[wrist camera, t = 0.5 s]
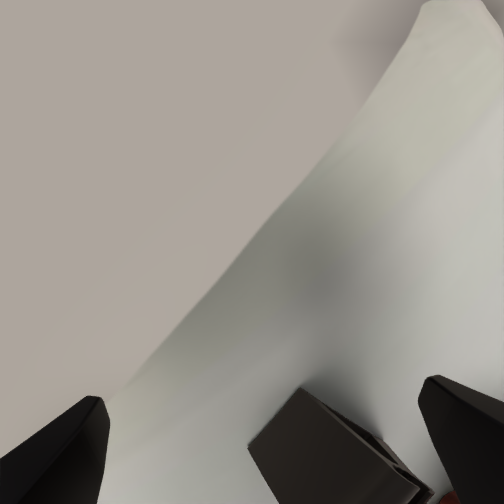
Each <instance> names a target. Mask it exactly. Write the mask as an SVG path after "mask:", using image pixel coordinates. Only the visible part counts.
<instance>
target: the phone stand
mask: <svg viewBox="0 0 504 504" xmlns="http://www.w3.org/2000/svg"><path fill="white" fill-rule="evenodd" d="M247 449H248V451H249V452H250V454H251V456H252V458H253V460H254V461H255V463H256V465H257V467H258V468H259V470H260V472H261V474H262V475H263V477H264V479H265V481H266V482H267V484H268V486H269V487H270V489H271V491H272V492H273V494H274V496H275V497H276V499H277V501H278V502H279V504H426V503H427V502H428V501H429V499H430V498H431V497H432V496H433V495H434V494H435V493H434V491H433V490H432V489H431V488H429V487H428V486H427V485H426V484H424V483H423V482H422V481H421V480H419V479H418V478H417V477H416V476H415V475H414V474H413V473H412V472H411V471H410V470H409V469H408V468H407V467H406V465H405V464H404V463H403V462H402V461H401V460H400V459H399V457H398V456H397V455H396V454H395V453H394V452H393V451H392V449H391V448H390V447H389V446H388V445H387V444H386V443H385V442H384V441H382V440H381V439H379V438H378V437H376V436H374V435H373V434H371V433H369V432H368V431H366V430H365V429H363V428H361V427H360V426H358V425H357V424H355V423H353V422H352V421H350V420H349V419H347V418H345V417H344V416H342V415H341V414H339V413H338V412H336V411H335V410H333V409H332V408H330V407H329V406H327V405H326V404H324V403H323V402H321V401H320V400H318V399H317V398H315V397H314V396H312V395H311V394H309V393H308V392H306V391H305V390H304V389H302V388H299V389H298V390H297V392H296V393H295V394H294V395H293V396H292V398H291V399H290V400H289V401H288V402H287V404H286V405H285V406H284V407H283V408H282V410H281V411H280V412H279V413H278V414H277V415H276V417H275V418H274V419H273V420H272V421H271V422H270V424H269V425H268V426H267V427H266V428H265V429H264V430H263V431H262V433H261V434H260V435H259V436H258V437H257V438H256V439H255V440H254V441H253V442H252V443H251V445H250V446H249V447H248V448H247Z"/></svg>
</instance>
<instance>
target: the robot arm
mask: <svg viewBox="0 0 504 504" xmlns="http://www.w3.org/2000/svg"><path fill="white" fill-rule="evenodd" d="M418 405H419V408H420V410H421V413H422V416H423V418H424V421H425V424H426V426H427V429H428V432H429V435H430V437H431V440H432V443H433V445H434V447H435V449H436V451H437V453H438V456H439V458H440V460H441V462H442V464H443V466H444V468H445V470H446V472H447V475H448V477H449V479H450V481H451V483H452V486H453V488H454V490H455V492H456V495H457V497H458V499H459V501H460V504H504V402H502V401H500V400H497V399H495V398H492V397H490V396H488V395H485V394H483V393H480V392H478V391H476V390H473V389H471V388H469V387H466V386H464V385H462V384H459V383H457V382H455V381H452V380H450V379H448V378H446V377H443V376H441V375H433V376H429V377H427V378H426V379H425V381H424V384H423V387H422V389H421V392H420V394H419V397H418ZM109 431H110V418H109V415H108V413H107V410H106V407H105V404H104V401H103V399H102V398H101V397H96V396H86V397H84V398H83V399H82V400H80V401H79V402H78V403H76V404H75V405H73V406H72V407H71V408H69V409H68V410H67V411H65V412H64V413H63V414H61V415H60V416H59V417H57V418H56V419H54V420H53V421H52V422H50V423H49V424H48V425H46V426H45V427H43V428H42V429H41V430H39V431H38V432H37V433H35V434H34V435H32V436H31V437H30V438H28V439H27V440H25V441H24V442H23V443H21V444H20V445H19V446H17V447H16V448H14V449H13V450H12V451H10V452H9V453H7V454H6V455H5V456H3V457H2V458H0V504H97V500H98V496H99V492H100V487H101V483H102V479H103V474H104V468H105V461H106V453H107V445H108V438H109Z"/></svg>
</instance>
